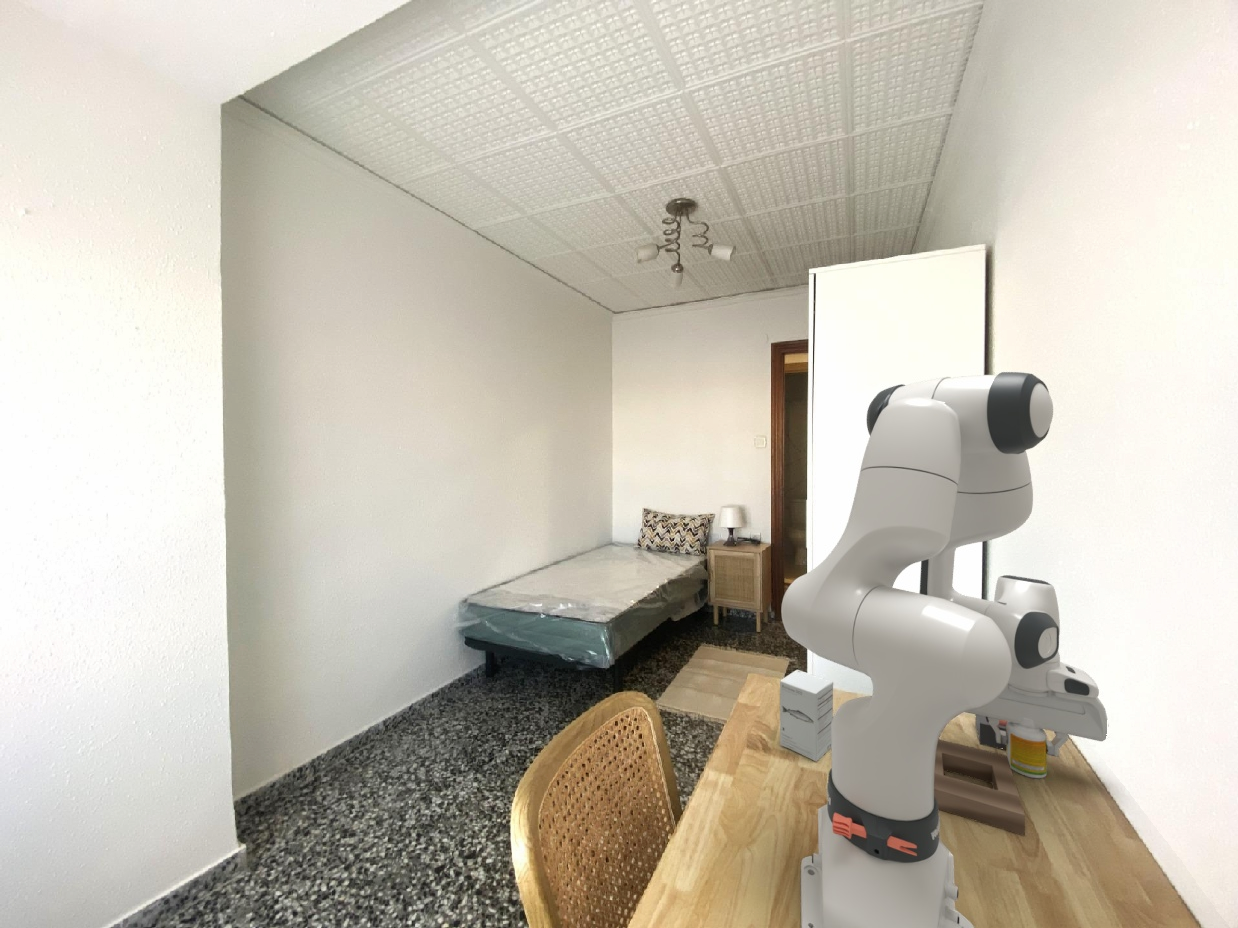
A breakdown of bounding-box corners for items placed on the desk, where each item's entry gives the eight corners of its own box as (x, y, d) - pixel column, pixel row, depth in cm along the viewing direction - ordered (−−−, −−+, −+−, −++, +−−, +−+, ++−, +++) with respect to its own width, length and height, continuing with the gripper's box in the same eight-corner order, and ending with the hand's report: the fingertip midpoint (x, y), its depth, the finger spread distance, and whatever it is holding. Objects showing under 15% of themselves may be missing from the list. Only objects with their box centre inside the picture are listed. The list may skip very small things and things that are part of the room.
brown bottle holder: (1025, 835, 69) (1025, 815, 69) (926, 805, 75) (926, 786, 75) (1007, 772, 83) (1006, 755, 83) (924, 751, 89) (924, 735, 89)
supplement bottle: (1054, 781, 80) (1054, 723, 80) (1018, 777, 82) (1017, 720, 81) (1034, 761, 86) (1033, 707, 86) (999, 757, 87) (999, 704, 87)
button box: (1035, 757, 87) (1034, 735, 87) (980, 743, 91) (979, 722, 91) (1026, 735, 94) (1026, 714, 94) (975, 723, 98) (975, 704, 98)
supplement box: (778, 745, 92) (778, 679, 91) (797, 730, 96) (797, 667, 96) (816, 763, 86) (815, 693, 86) (834, 746, 91) (834, 680, 91)
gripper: (954, 663, 86) (954, 739, 86) (1112, 690, 75) (1112, 777, 76) (951, 650, 92) (952, 723, 92) (1099, 674, 81) (1099, 756, 81)
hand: (1026, 748), depth 84 cm, fingers closed on supplement bottle, 5 cm apart
